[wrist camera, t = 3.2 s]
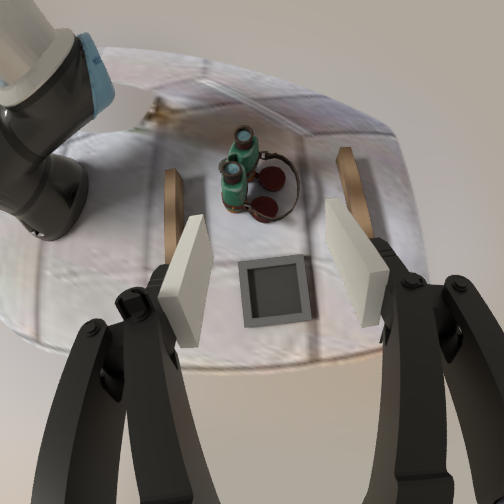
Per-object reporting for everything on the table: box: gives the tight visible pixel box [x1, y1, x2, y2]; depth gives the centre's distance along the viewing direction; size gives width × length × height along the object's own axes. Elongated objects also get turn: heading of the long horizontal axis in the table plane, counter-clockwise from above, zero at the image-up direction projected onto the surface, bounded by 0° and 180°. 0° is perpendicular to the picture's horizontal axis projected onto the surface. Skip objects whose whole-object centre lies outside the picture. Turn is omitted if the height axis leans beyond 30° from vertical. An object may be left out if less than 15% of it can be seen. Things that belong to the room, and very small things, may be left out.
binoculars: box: [219, 125, 300, 223], centre depth 33 cm, size 9×10×10 cm
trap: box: [238, 254, 312, 328], centre depth 34 cm, size 8×8×1 cm
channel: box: [164, 147, 374, 264], centre depth 35 cm, size 13×25×4 cm, turn 96°
